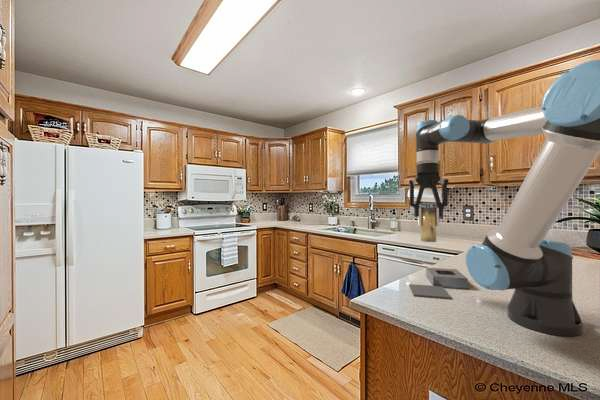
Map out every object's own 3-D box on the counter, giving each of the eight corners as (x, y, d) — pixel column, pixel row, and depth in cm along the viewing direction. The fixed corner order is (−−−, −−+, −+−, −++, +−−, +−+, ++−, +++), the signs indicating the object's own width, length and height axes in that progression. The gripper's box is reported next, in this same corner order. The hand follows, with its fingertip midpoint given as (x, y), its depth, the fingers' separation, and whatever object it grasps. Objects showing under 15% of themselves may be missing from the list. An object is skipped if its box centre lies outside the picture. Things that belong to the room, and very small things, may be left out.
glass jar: (437, 242, 94) (437, 207, 94) (422, 241, 95) (421, 207, 95) (434, 240, 99) (434, 207, 99) (419, 239, 100) (419, 207, 100)
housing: (467, 288, 99) (467, 278, 100) (433, 286, 103) (433, 276, 103) (456, 278, 113) (456, 269, 113) (426, 276, 116) (426, 267, 116)
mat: (451, 299, 89) (451, 297, 89) (413, 296, 93) (413, 294, 93) (442, 287, 101) (442, 286, 101) (409, 285, 104) (409, 284, 104)
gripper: (451, 163, 98) (452, 225, 98) (400, 165, 103) (401, 224, 103) (458, 160, 91) (459, 226, 91) (402, 163, 96) (403, 226, 96)
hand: (428, 225), depth 97 cm, fingers closed on glass jar, 5 cm apart
